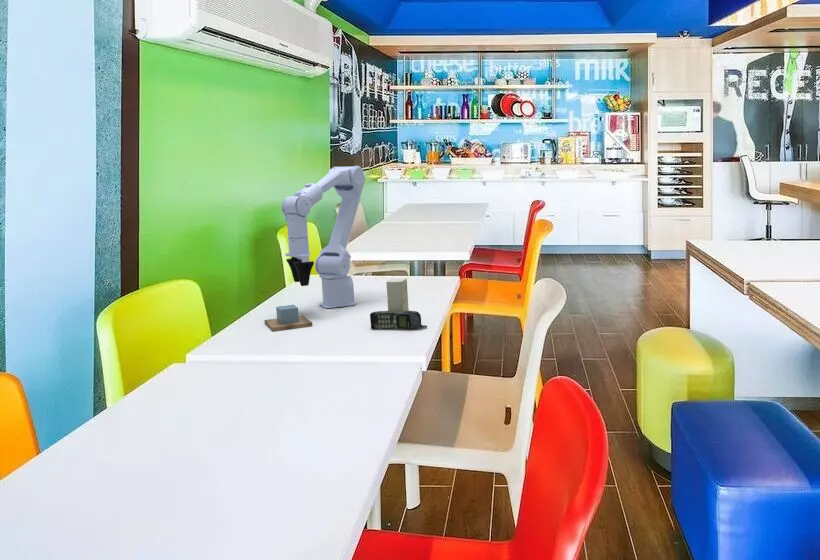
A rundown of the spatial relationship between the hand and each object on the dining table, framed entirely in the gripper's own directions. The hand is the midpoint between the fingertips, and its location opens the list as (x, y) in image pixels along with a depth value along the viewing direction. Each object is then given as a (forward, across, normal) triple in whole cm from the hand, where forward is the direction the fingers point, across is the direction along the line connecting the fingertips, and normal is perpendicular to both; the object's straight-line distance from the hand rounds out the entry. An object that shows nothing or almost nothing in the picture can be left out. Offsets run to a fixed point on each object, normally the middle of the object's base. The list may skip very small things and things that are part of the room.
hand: (301, 283), depth 217 cm
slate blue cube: (+8, +10, -7) cm, 15 cm away
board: (+9, +10, -7) cm, 15 cm away
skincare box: (+10, +26, +20) cm, 34 cm away
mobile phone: (+10, +31, +18) cm, 37 cm away
